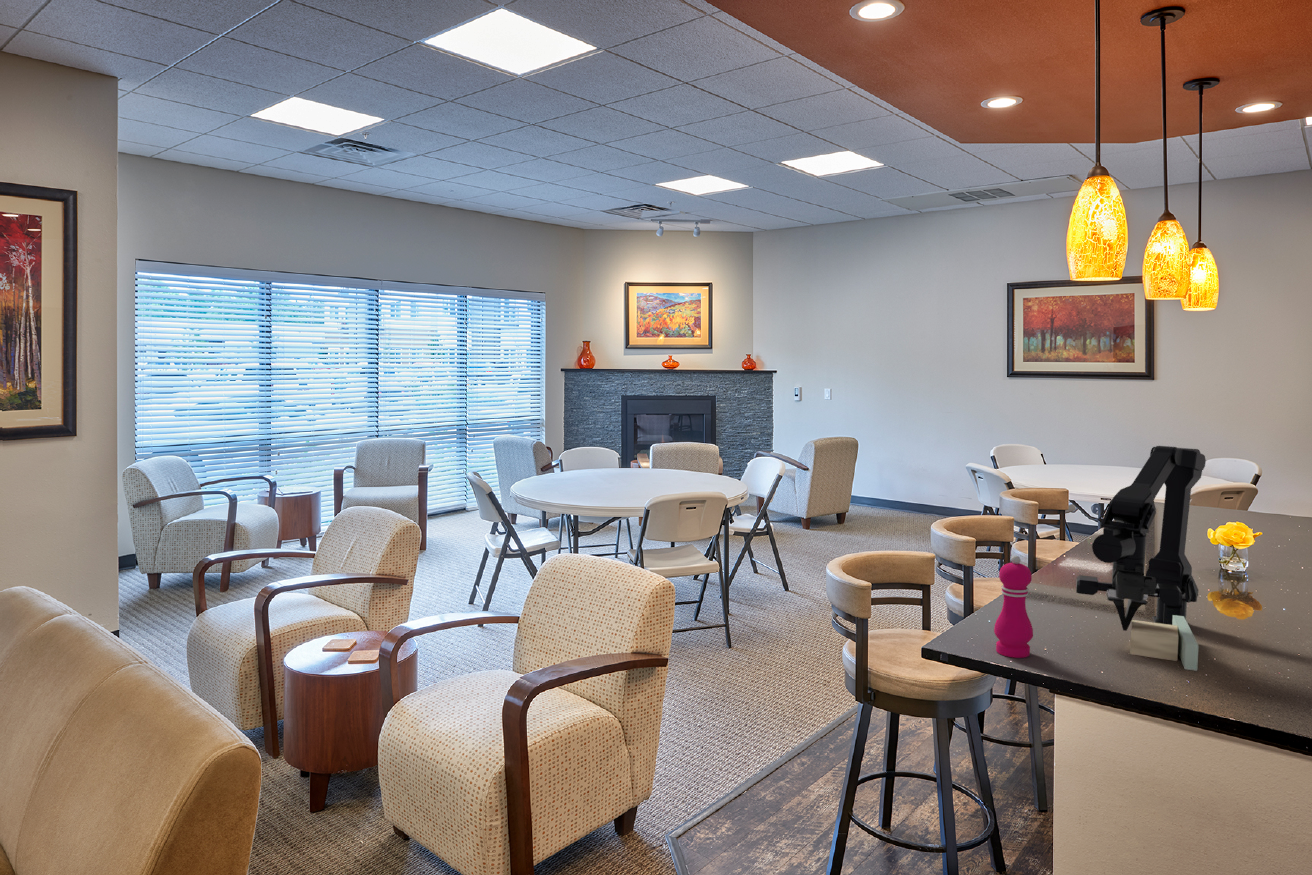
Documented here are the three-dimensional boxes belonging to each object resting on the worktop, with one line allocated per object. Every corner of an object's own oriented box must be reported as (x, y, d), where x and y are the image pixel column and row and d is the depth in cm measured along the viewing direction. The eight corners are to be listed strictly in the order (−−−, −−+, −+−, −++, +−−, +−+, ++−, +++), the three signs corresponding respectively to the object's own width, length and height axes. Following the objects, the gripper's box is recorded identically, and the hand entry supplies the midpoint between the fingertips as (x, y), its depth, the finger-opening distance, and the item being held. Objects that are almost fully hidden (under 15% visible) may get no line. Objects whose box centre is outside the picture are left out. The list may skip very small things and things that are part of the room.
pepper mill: (1002, 644, 172) (1005, 549, 170) (1038, 652, 167) (1041, 555, 165) (987, 652, 167) (990, 555, 165) (1023, 661, 162) (1027, 561, 160)
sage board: (1171, 637, 175) (1172, 614, 175) (1182, 639, 174) (1183, 616, 174) (1184, 668, 157) (1186, 643, 157) (1197, 670, 156) (1198, 644, 156)
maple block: (1131, 643, 173) (1132, 619, 172) (1176, 649, 168) (1177, 625, 168) (1130, 654, 166) (1131, 630, 165) (1177, 661, 162) (1178, 636, 161)
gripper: (1078, 559, 166) (1074, 634, 168) (1187, 569, 158) (1182, 648, 160) (1077, 548, 176) (1074, 619, 178) (1180, 557, 168) (1175, 632, 169)
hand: (1124, 630), depth 171 cm, fingers closed
